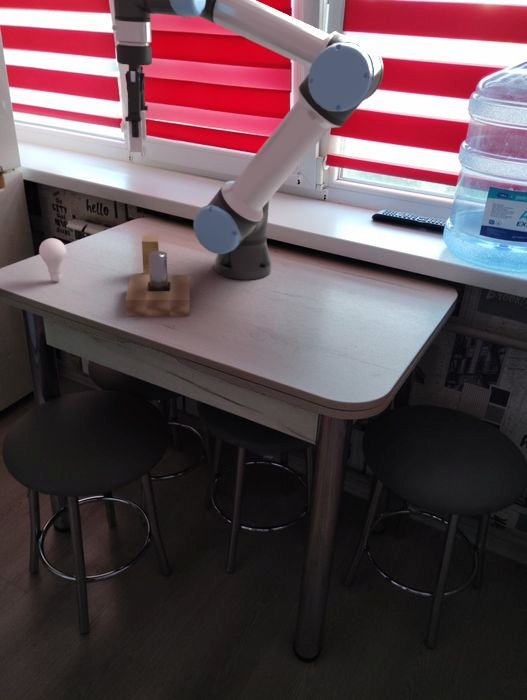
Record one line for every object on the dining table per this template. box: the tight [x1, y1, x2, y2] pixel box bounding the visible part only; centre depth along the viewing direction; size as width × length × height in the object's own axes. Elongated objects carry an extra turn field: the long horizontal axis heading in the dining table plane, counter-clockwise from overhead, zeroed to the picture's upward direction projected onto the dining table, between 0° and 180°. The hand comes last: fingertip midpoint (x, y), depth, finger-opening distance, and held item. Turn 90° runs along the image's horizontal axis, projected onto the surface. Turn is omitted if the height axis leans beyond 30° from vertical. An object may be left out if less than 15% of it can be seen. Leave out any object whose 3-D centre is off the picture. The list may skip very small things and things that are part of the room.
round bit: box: [149, 250, 168, 291], centre depth 137 cm, size 4×4×12 cm
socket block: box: [125, 273, 191, 317], centre depth 139 cm, size 14×14×4 cm
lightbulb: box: [38, 237, 67, 283], centre depth 144 cm, size 6×6×11 cm
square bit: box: [141, 235, 160, 274], centre depth 150 cm, size 4×4×10 cm
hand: (138, 145), depth 139 cm, fingers open, 13 cm apart
